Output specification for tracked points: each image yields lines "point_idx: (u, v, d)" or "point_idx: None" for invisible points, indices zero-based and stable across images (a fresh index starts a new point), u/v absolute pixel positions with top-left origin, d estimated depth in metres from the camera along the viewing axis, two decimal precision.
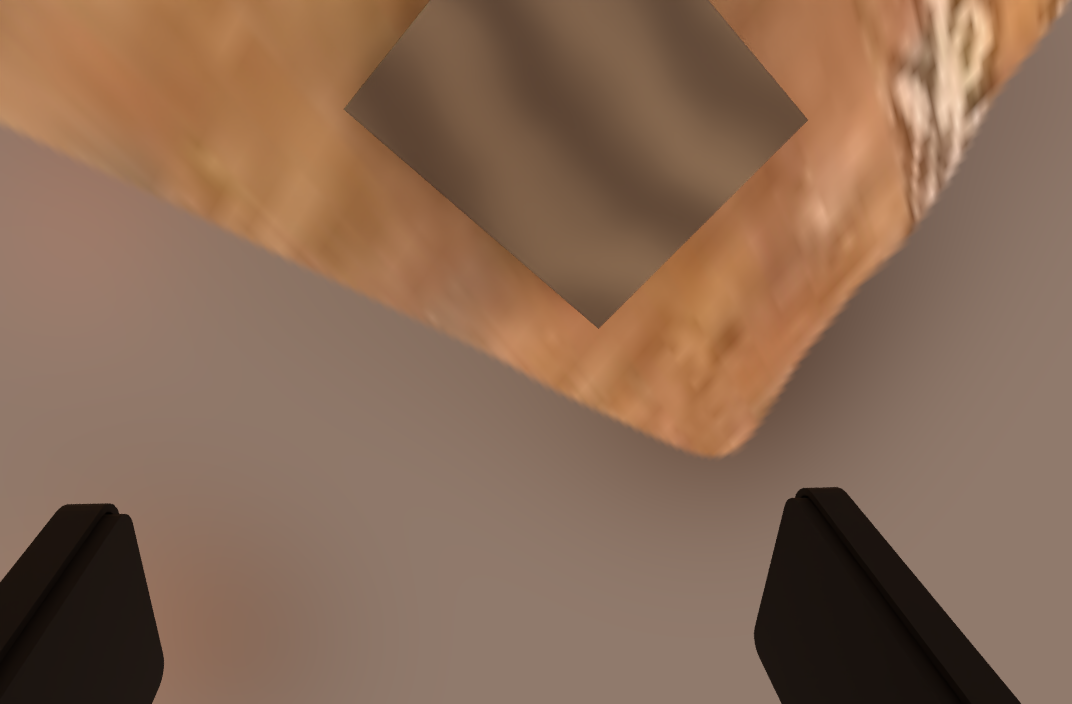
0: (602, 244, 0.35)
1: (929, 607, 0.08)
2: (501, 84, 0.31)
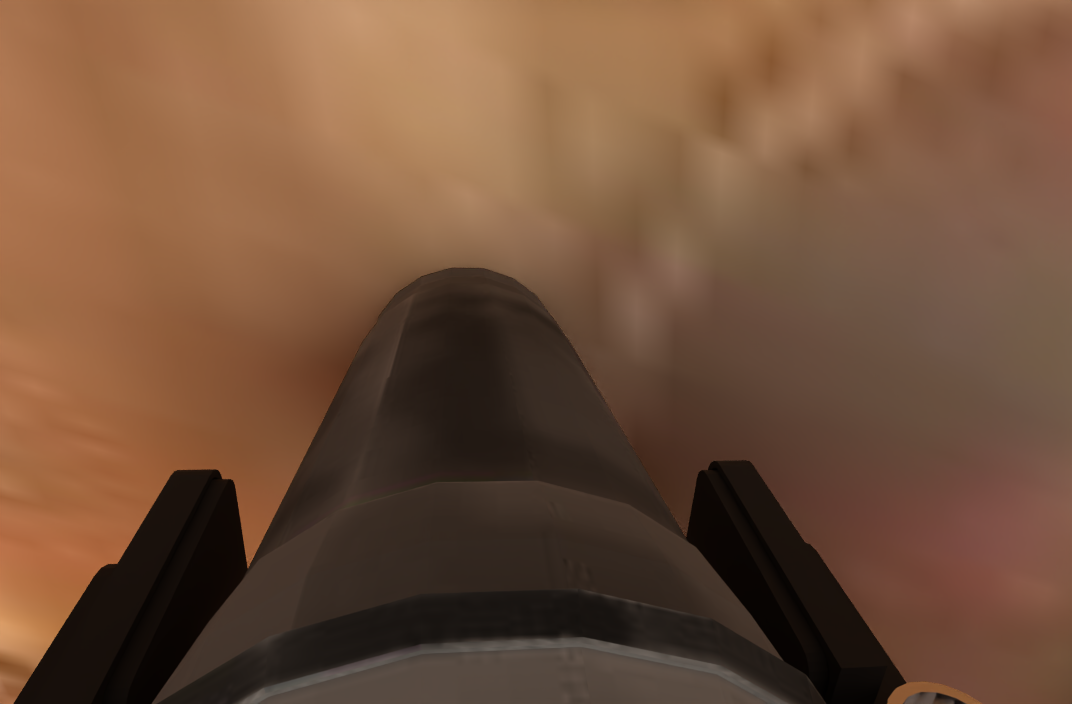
0: None
1: (809, 566, 0.09)
2: None
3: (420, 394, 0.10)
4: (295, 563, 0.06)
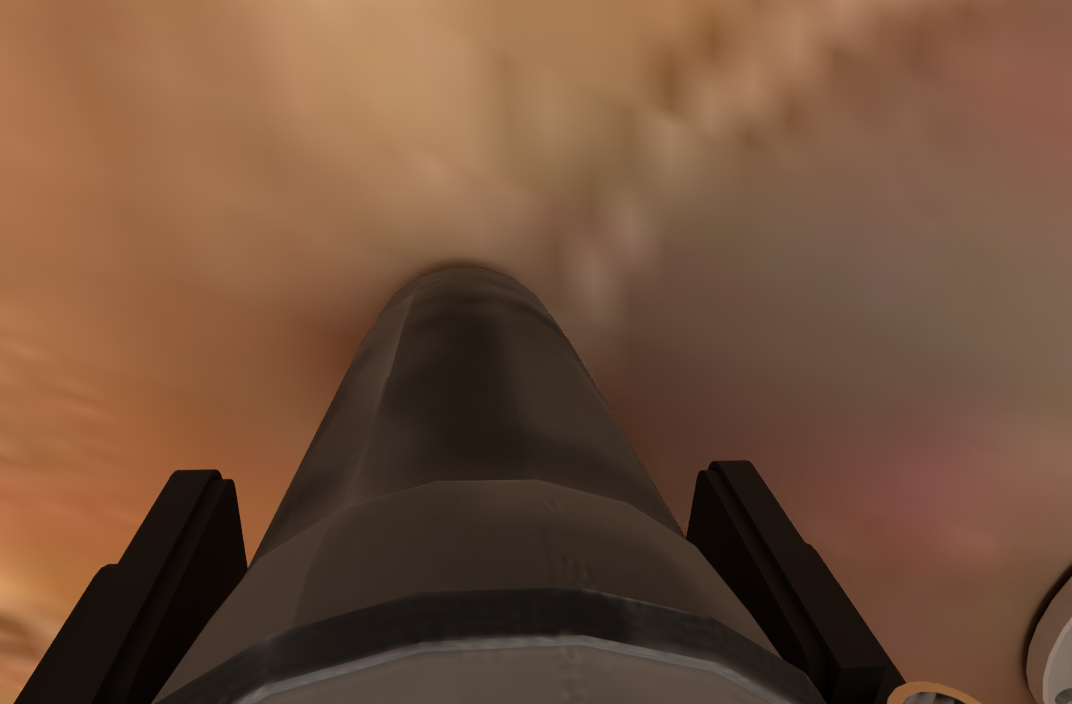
0: None
1: (808, 566, 0.09)
2: None
3: (420, 393, 0.10)
4: (294, 562, 0.06)
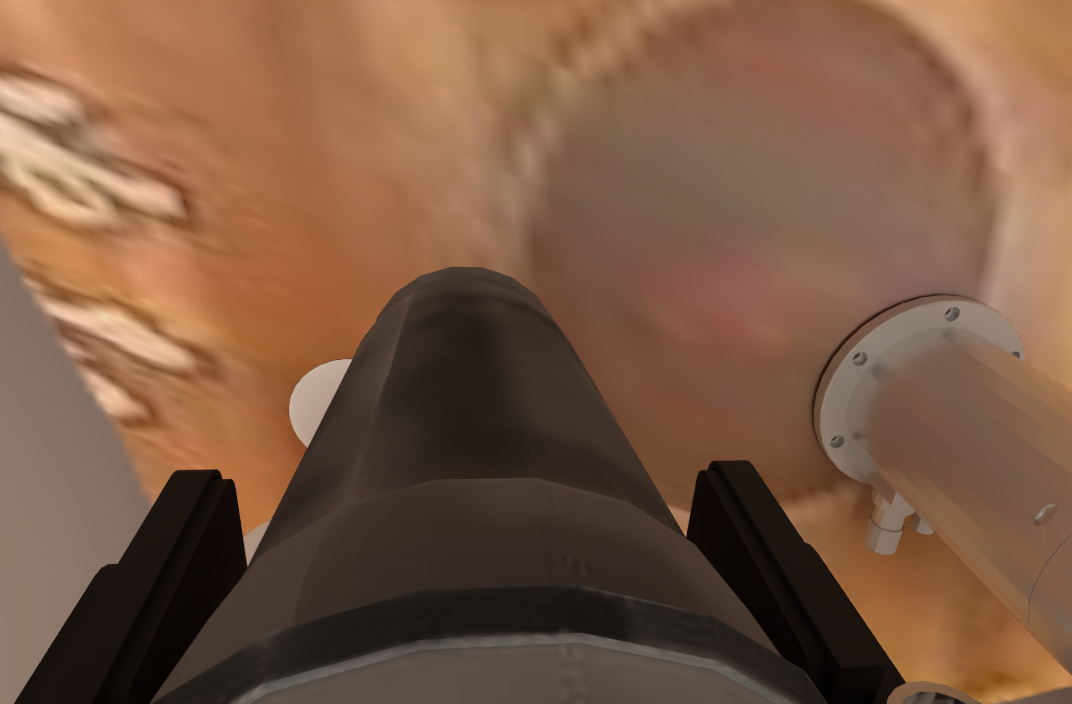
0: None
1: (808, 566, 0.09)
2: None
3: (419, 392, 0.10)
4: (294, 561, 0.06)
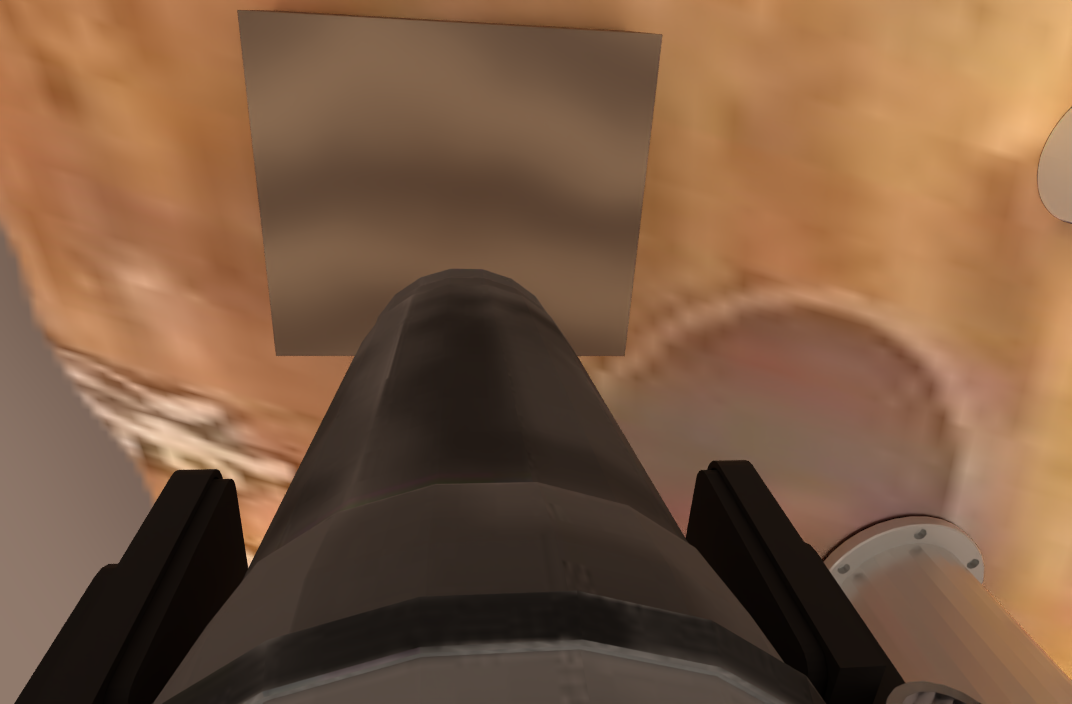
0: (329, 108, 0.28)
1: (808, 566, 0.09)
2: (543, 170, 0.30)
3: (419, 395, 0.09)
4: (294, 566, 0.06)
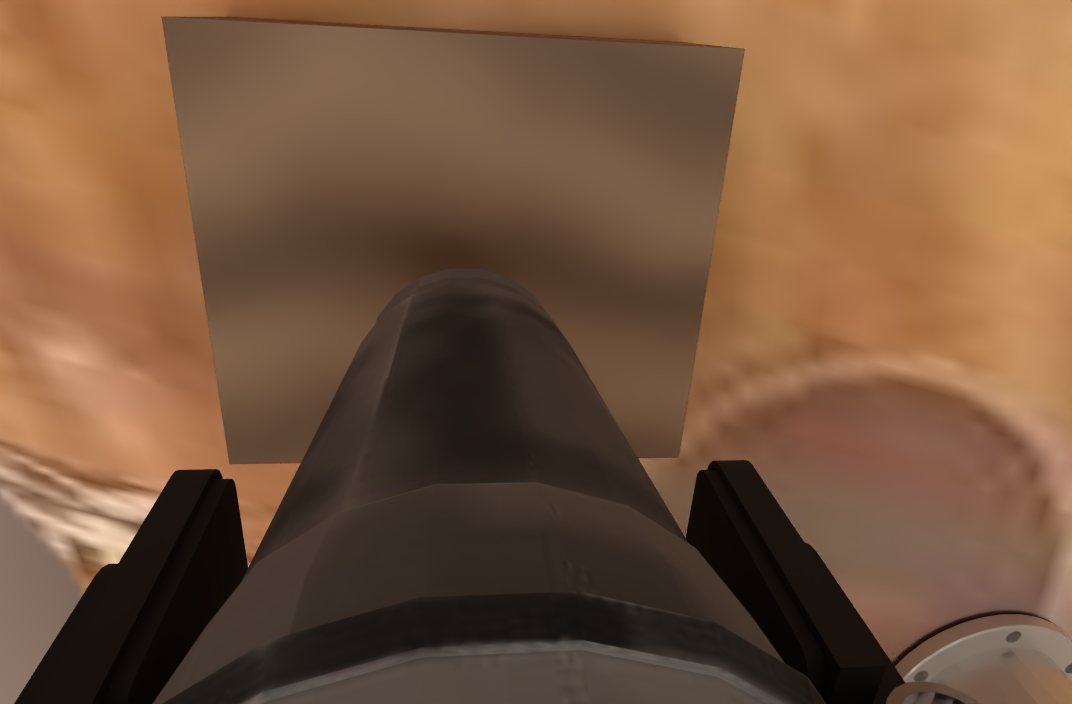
0: (293, 149, 0.20)
1: (808, 566, 0.09)
2: (580, 228, 0.22)
3: (419, 395, 0.09)
4: (292, 567, 0.06)
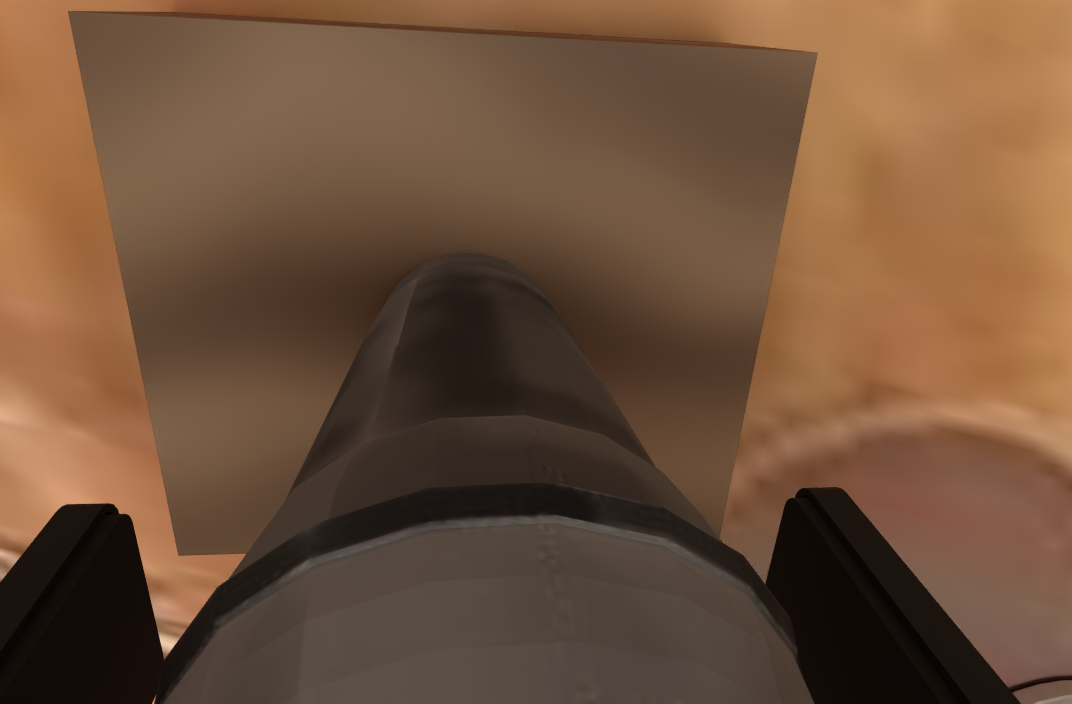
0: (245, 180, 0.16)
1: (929, 607, 0.08)
2: (607, 274, 0.18)
3: (425, 356, 0.11)
4: (325, 483, 0.08)
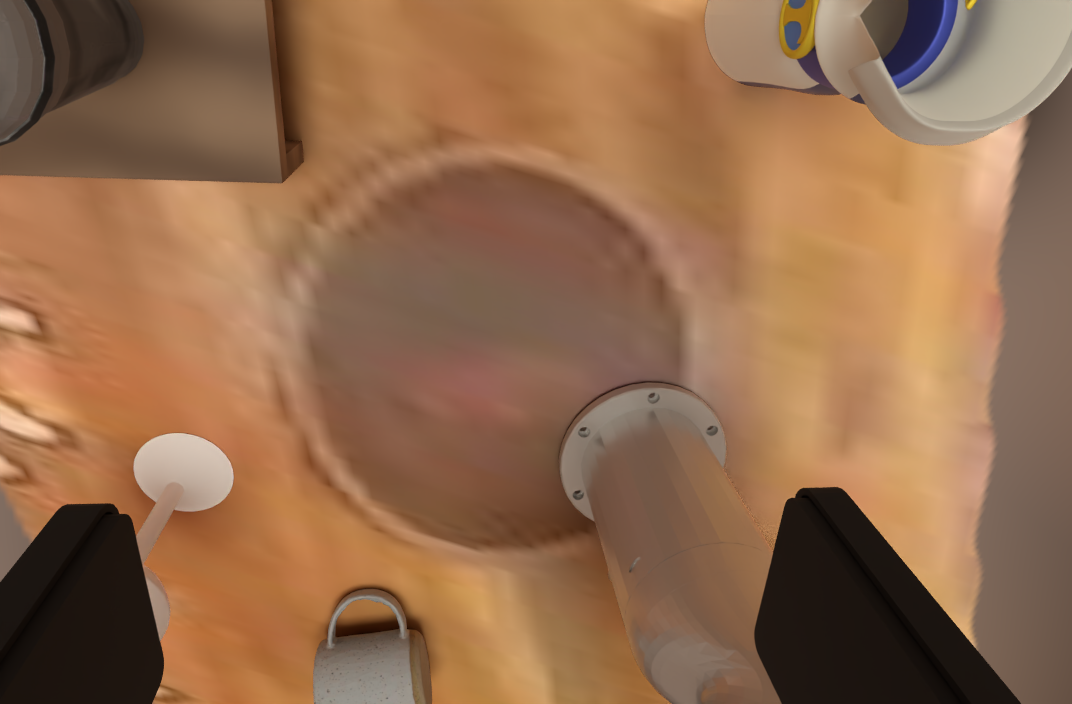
0: None
1: (929, 607, 0.08)
2: None
3: None
4: None
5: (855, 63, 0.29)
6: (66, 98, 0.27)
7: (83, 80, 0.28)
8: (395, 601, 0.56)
